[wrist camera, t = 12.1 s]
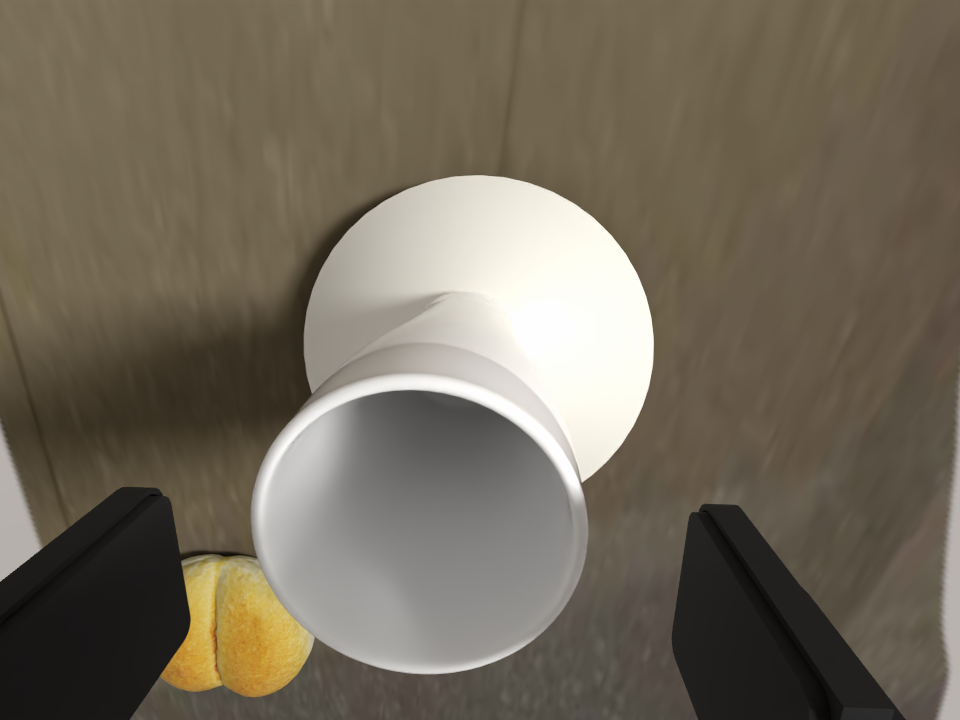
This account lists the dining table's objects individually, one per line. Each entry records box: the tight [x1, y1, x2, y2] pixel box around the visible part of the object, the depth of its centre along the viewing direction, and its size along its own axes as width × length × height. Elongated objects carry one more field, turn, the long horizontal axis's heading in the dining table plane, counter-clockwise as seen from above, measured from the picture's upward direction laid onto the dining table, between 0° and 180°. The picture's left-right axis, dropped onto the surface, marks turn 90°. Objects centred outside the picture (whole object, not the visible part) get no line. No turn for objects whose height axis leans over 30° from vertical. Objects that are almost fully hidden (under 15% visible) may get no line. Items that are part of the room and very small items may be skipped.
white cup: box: [251, 291, 588, 674], centre depth 18 cm, size 7×7×15 cm
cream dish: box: [304, 175, 654, 482], centre depth 26 cm, size 16×16×2 cm
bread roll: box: [160, 554, 314, 697], centre depth 30 cm, size 8×9×4 cm
